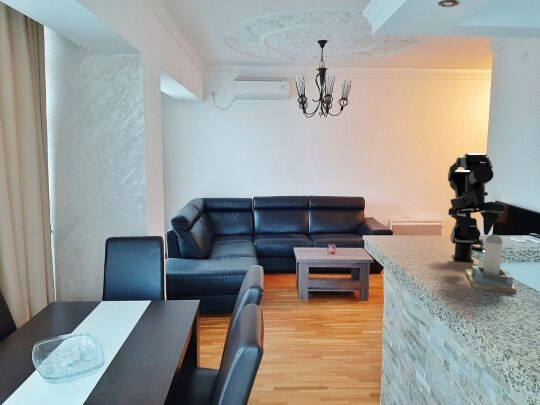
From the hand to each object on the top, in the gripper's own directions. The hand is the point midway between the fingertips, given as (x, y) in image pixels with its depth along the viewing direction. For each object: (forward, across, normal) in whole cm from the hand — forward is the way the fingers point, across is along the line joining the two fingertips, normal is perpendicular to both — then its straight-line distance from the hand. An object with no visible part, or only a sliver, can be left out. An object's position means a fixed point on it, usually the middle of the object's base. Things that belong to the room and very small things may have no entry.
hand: (474, 235), depth 131 cm
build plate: (+2, -27, +27) cm, 38 cm away
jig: (+15, +7, -1) cm, 16 cm away
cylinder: (+14, +9, -3) cm, 17 cm away
